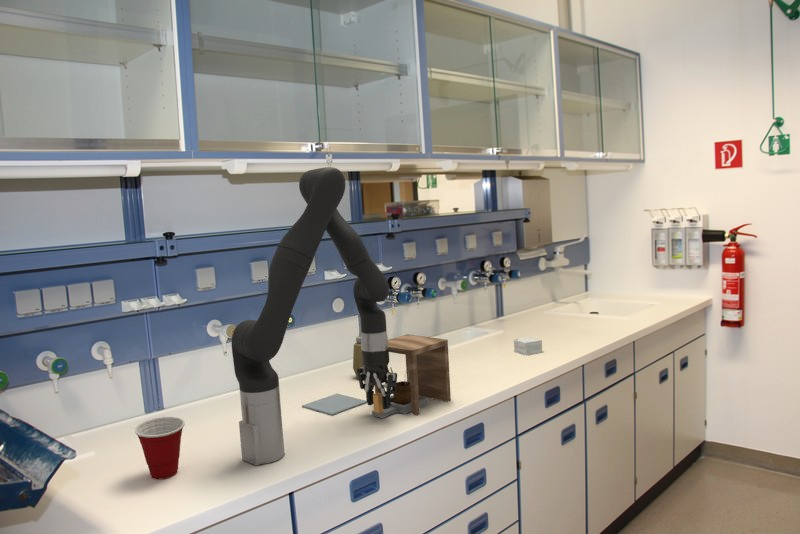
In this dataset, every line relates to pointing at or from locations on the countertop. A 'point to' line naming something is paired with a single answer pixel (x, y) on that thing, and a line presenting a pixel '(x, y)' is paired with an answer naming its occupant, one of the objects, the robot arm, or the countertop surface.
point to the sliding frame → (393, 406)
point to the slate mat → (334, 404)
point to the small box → (527, 346)
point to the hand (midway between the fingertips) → (378, 406)
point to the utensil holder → (402, 392)
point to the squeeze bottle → (357, 354)
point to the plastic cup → (161, 445)
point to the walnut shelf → (424, 367)
